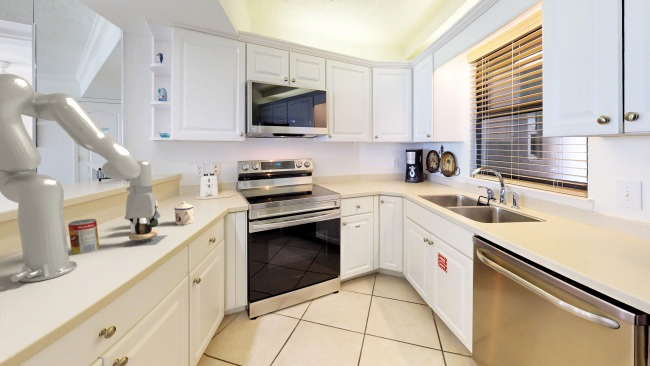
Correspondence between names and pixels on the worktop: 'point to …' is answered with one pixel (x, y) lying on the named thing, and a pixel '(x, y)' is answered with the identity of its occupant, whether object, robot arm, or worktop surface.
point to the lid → (142, 233)
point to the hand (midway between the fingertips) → (143, 232)
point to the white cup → (142, 220)
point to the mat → (145, 241)
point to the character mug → (155, 219)
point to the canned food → (83, 236)
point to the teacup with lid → (184, 214)
